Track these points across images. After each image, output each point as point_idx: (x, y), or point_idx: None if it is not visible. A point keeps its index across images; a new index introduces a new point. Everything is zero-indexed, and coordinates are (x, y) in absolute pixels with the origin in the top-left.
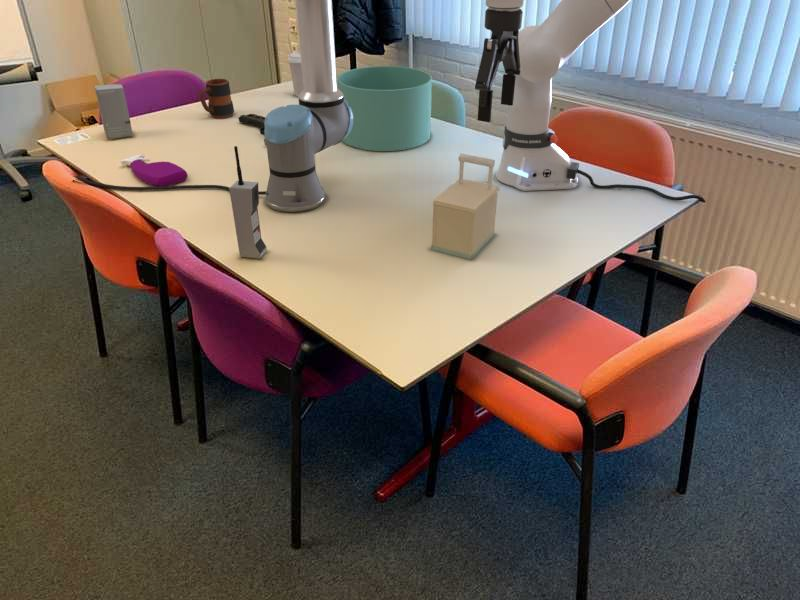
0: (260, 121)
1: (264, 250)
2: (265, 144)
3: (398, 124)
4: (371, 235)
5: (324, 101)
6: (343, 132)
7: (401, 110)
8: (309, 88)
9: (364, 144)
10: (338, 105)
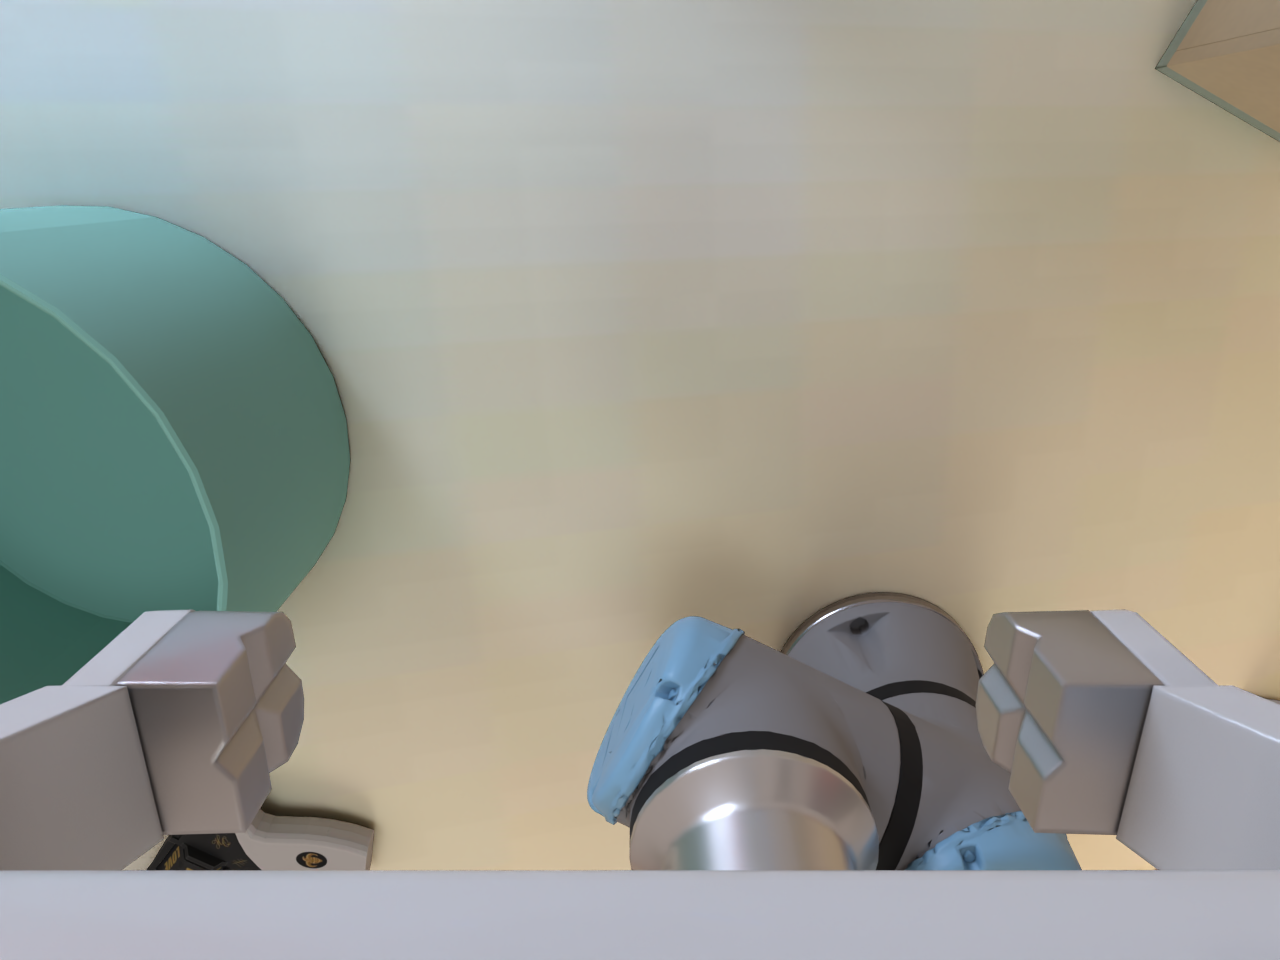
0: None
1: None
2: (369, 869)
3: (274, 389)
4: (1179, 401)
5: (875, 825)
6: (767, 647)
7: (231, 391)
8: None
9: (335, 518)
10: (821, 746)
